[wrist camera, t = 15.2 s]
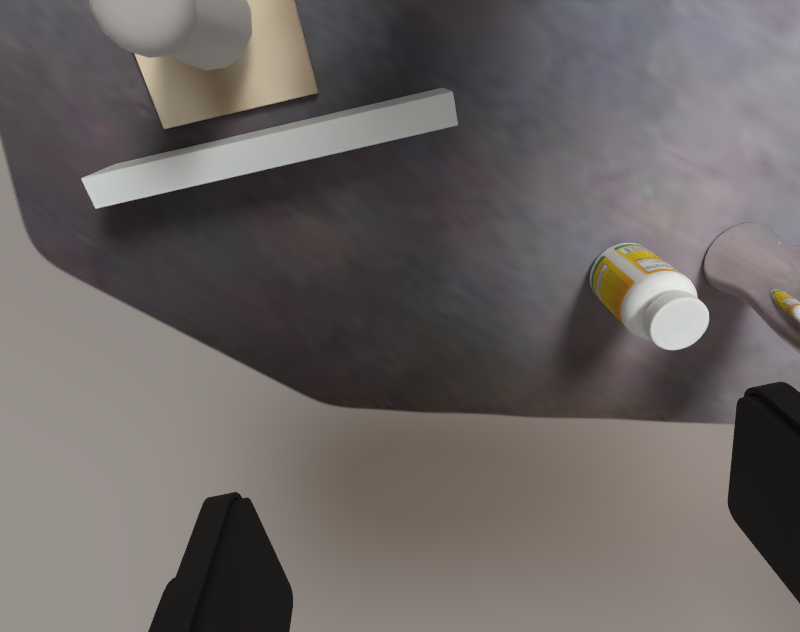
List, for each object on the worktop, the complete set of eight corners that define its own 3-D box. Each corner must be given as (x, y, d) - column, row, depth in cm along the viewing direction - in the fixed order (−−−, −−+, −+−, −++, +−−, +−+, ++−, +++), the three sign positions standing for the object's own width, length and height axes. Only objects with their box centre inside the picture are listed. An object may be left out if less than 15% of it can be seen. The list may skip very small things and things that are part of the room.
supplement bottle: (633, 228, 42) (702, 271, 33) (662, 276, 44) (733, 329, 35) (575, 267, 43) (627, 319, 35) (605, 313, 45) (661, 372, 37)
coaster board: (268, -102, 32) (266, -105, 31) (318, 92, 36) (318, 92, 36) (93, -58, 32) (89, -60, 32) (166, 128, 37) (164, 129, 36)
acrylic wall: (442, 87, 37) (453, 91, 32) (447, 117, 38) (458, 125, 33) (114, 164, 38) (80, 178, 33) (127, 191, 39) (95, 208, 34)
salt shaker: (148, -13, 33) (27, -51, 21) (231, -51, 32) (153, -112, 20) (197, 83, 35) (112, 96, 24) (274, 49, 35) (227, 45, 23)
